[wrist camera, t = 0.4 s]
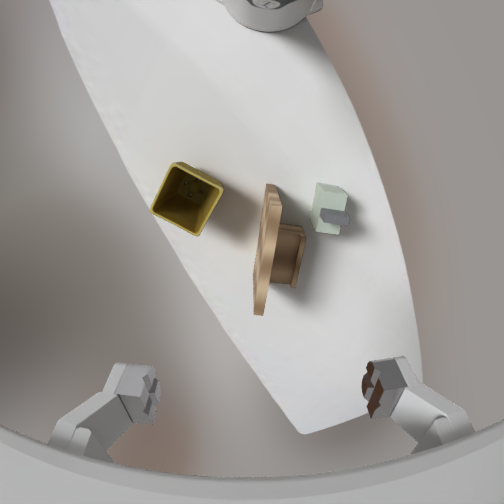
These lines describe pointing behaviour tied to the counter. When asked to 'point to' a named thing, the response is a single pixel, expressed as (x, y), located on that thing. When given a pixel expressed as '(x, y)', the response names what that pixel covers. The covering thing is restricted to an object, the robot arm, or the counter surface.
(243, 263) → the counter surface
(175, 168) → the flower pot
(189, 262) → the counter surface
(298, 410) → the counter surface
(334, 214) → the pale green box
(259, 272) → the wall board
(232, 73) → the counter surface
